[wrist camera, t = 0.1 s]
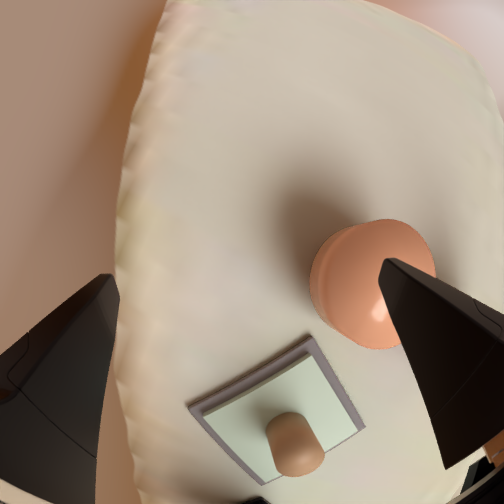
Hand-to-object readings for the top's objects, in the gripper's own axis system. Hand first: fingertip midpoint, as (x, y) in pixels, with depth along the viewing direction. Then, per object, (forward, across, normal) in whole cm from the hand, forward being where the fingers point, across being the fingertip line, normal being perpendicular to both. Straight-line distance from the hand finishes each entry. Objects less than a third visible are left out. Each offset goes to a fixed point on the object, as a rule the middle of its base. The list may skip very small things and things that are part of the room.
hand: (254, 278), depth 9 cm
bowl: (+12, -10, +10) cm, 18 cm away
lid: (+4, -4, +21) cm, 21 cm away
